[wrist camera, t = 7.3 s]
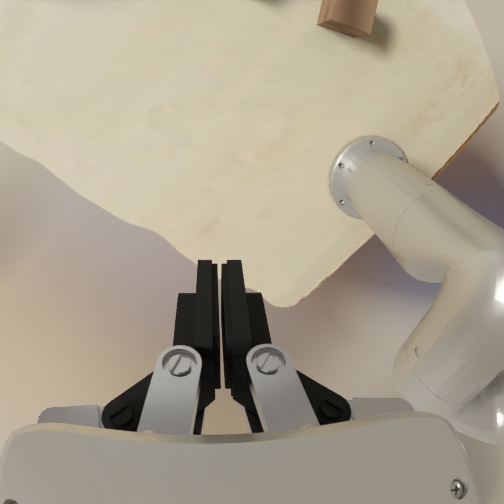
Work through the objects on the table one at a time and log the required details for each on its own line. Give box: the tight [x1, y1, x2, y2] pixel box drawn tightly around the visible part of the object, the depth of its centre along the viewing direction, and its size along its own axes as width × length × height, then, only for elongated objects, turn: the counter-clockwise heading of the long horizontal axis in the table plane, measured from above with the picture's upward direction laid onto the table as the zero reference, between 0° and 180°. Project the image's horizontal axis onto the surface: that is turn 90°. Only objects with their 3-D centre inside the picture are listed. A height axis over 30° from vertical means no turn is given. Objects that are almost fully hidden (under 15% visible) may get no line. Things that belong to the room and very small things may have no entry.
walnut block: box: [317, 0, 378, 37], centre depth 25 cm, size 5×5×5 cm
